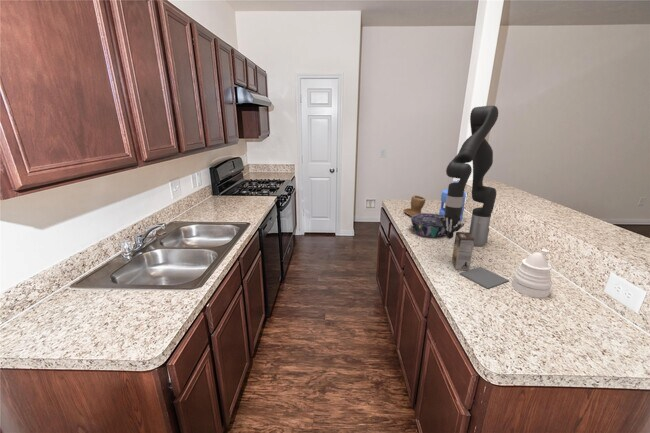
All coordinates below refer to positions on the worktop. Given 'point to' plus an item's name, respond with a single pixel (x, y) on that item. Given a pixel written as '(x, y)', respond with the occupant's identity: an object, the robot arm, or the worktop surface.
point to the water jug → (443, 199)
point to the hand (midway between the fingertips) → (449, 238)
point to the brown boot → (415, 205)
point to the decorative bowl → (428, 225)
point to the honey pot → (533, 276)
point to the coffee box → (462, 250)
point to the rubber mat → (484, 277)
